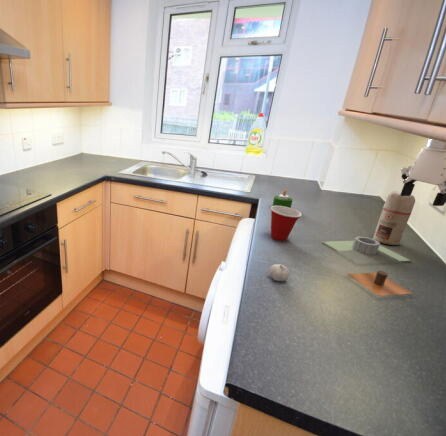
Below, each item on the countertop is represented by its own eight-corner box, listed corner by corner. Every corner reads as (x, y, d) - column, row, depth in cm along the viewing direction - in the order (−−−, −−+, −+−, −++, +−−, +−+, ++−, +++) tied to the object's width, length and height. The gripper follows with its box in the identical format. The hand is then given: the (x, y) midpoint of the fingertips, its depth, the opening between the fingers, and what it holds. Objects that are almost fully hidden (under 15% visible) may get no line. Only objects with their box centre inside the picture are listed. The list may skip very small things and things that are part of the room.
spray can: (366, 236, 121) (383, 189, 113) (386, 237, 120) (405, 189, 113) (382, 245, 113) (402, 195, 105) (404, 246, 112) (425, 196, 105)
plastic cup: (295, 246, 111) (304, 216, 106) (264, 240, 115) (270, 211, 111) (293, 235, 120) (301, 207, 116) (264, 230, 124) (270, 203, 120)
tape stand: (377, 274, 94) (381, 262, 92) (412, 295, 84) (418, 282, 82) (345, 276, 93) (349, 264, 91) (378, 298, 82) (383, 284, 81)
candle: (268, 207, 151) (273, 188, 147) (276, 204, 156) (281, 186, 152) (285, 212, 145) (290, 192, 141) (293, 209, 150) (298, 190, 146)
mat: (368, 240, 117) (369, 239, 117) (410, 261, 102) (410, 260, 102) (322, 242, 114) (322, 241, 114) (357, 264, 100) (358, 262, 100)
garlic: (287, 286, 87) (291, 271, 85) (267, 281, 89) (270, 266, 87) (287, 276, 92) (291, 262, 90) (268, 271, 94) (272, 257, 92)
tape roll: (364, 245, 112) (367, 236, 110) (381, 254, 105) (385, 244, 104) (347, 246, 111) (350, 236, 109) (363, 255, 105) (367, 245, 103)
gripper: (492, 149, 79) (463, 209, 85) (423, 141, 95) (403, 192, 101) (468, 149, 78) (441, 210, 85) (403, 141, 94) (384, 192, 101)
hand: (420, 200), depth 93 cm, fingers open, 9 cm apart
